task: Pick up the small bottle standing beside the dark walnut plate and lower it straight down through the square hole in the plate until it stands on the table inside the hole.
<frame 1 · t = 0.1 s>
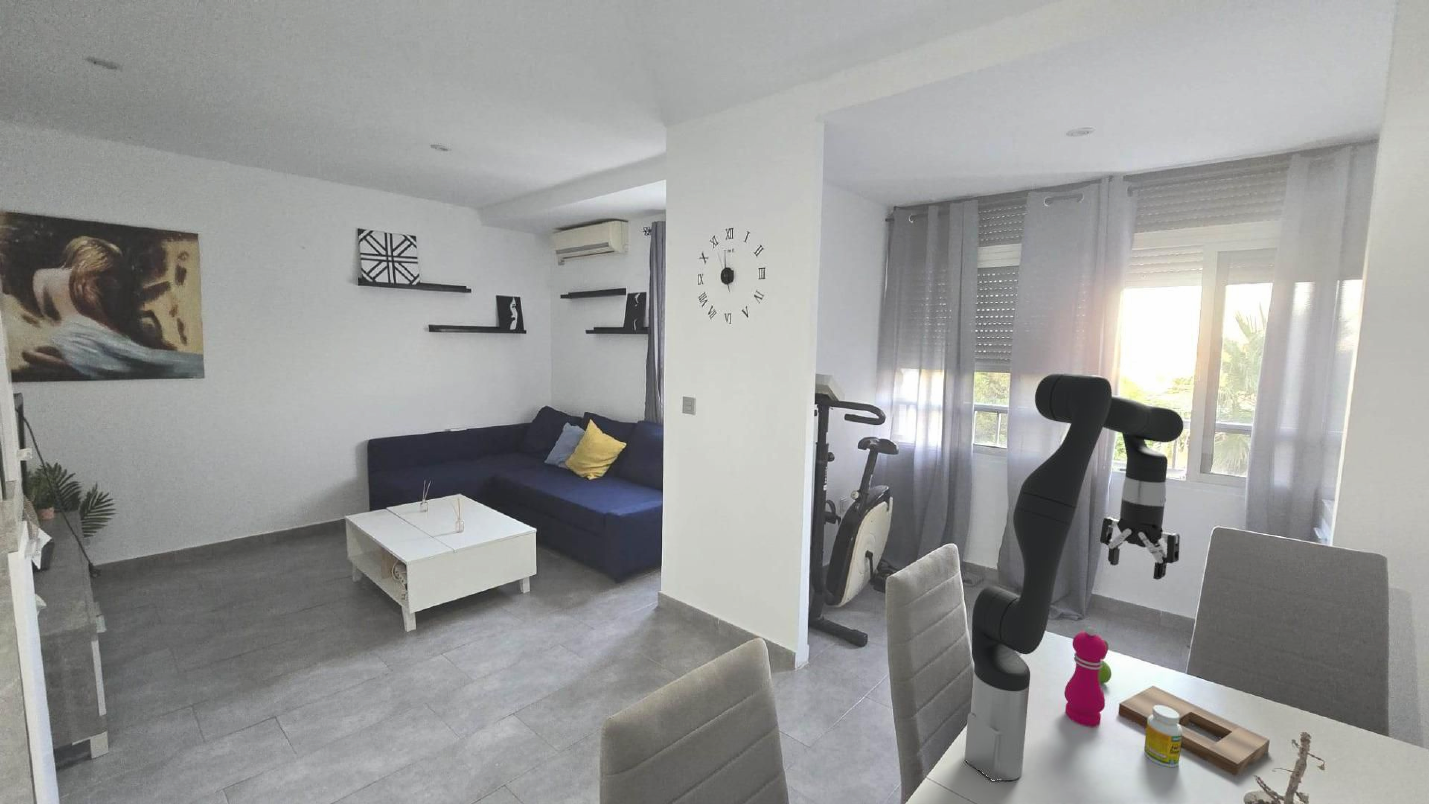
hand: (1135, 571, 128), 29 cm above the table, tool pointing down, fingers open, 8 cm apart
collar plate: (1189, 732, 119), on the table
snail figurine: (1094, 683, 136), on the table
supplement bottle: (1160, 759, 112), on the table
pepper mill: (1082, 718, 123), on the table
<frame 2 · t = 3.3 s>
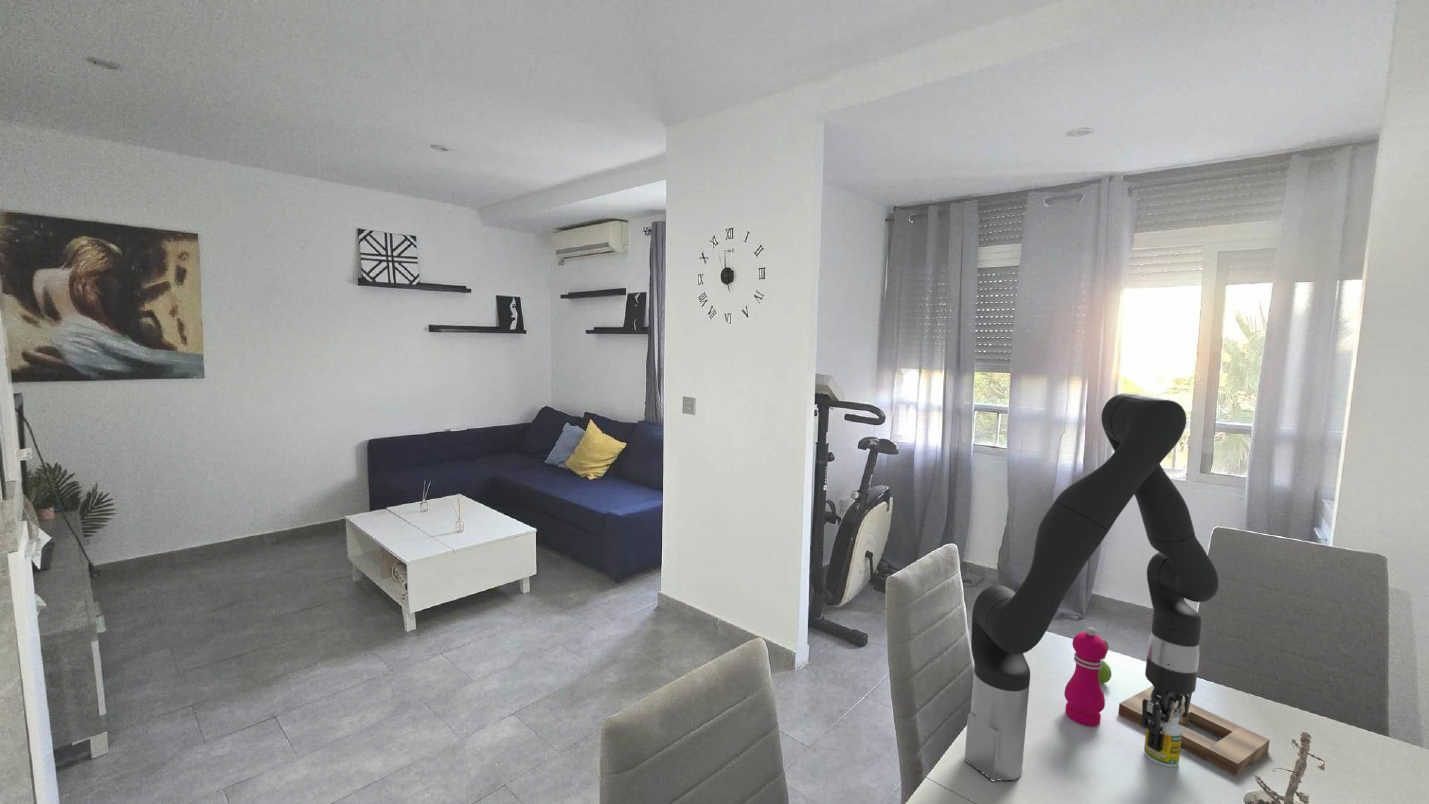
hand: (1162, 743, 111), 3 cm above the table, tool pointing down, fingers closed on supplement bottle, 5 cm apart
supplement bottle: (1160, 759, 112), on the table, touching gripper
everything else where it was.
when the fingers open (4 cm above the table, at t = 8.7 s): supplement bottle stays where it is, resting in collar plate.
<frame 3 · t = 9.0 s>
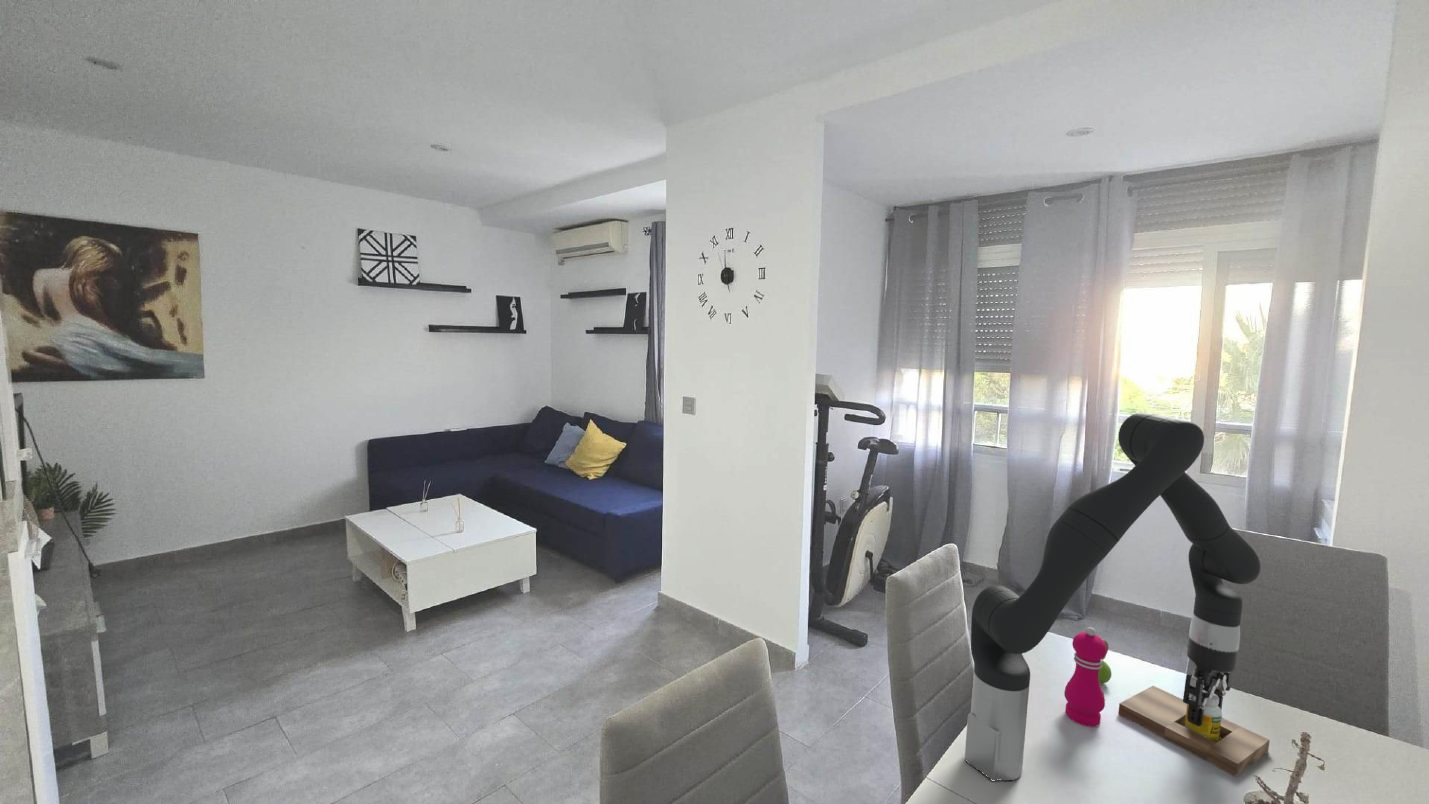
hand: (1204, 717, 117), 4 cm above the table, tool pointing down, fingers open, 8 cm apart
supplement bottle: (1200, 739, 117), resting in collar plate
everything else where it was.
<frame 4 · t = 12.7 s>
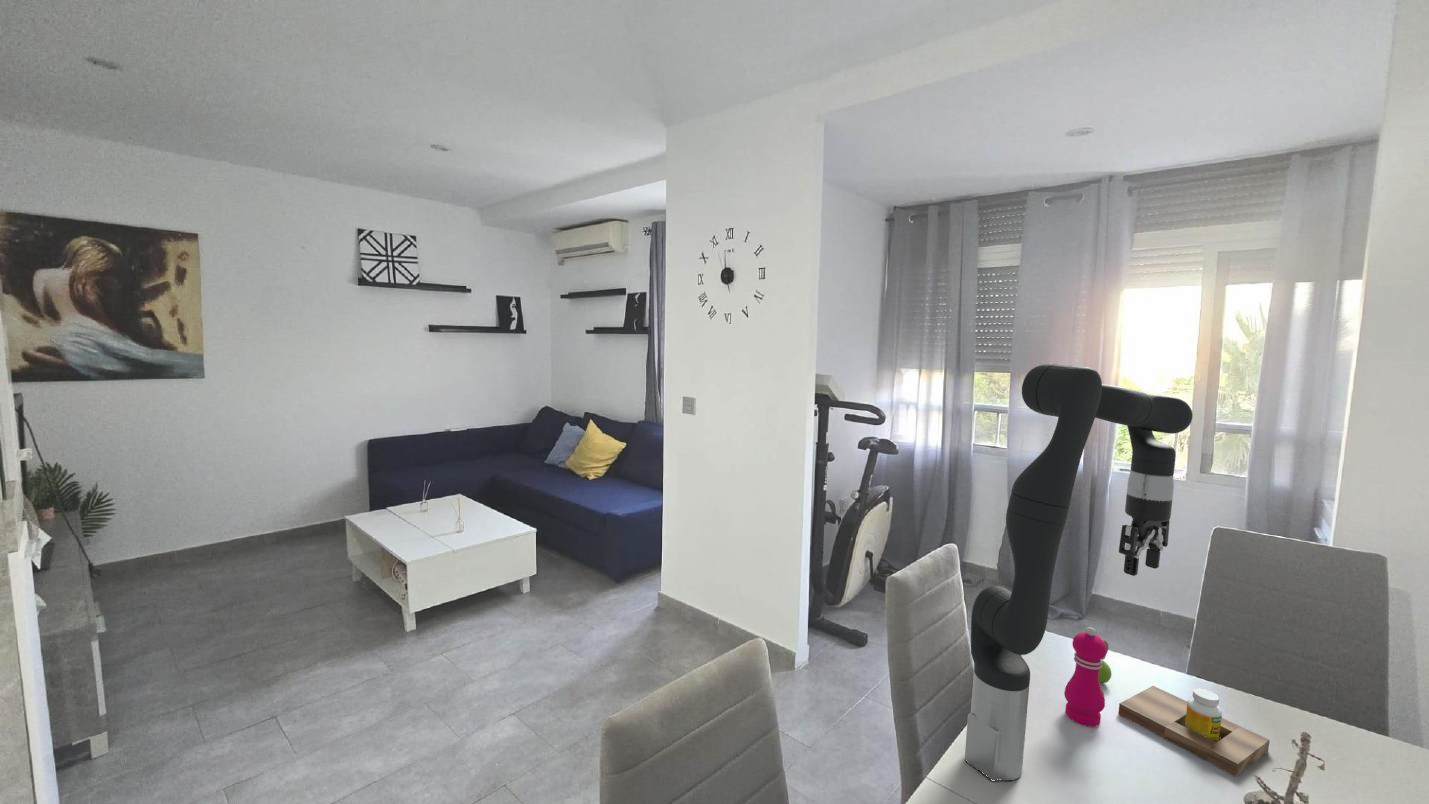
hand: (1141, 570, 121), 32 cm above the table, tool pointing down, fingers open, 8 cm apart
nothing on the table moved.
at the end: supplement bottle 0.3 cm from the target spot on the collar plate, point 0.0 cm above the collar plate's base; supplement bottle tilted 0°; the gripper is holding nothing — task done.
